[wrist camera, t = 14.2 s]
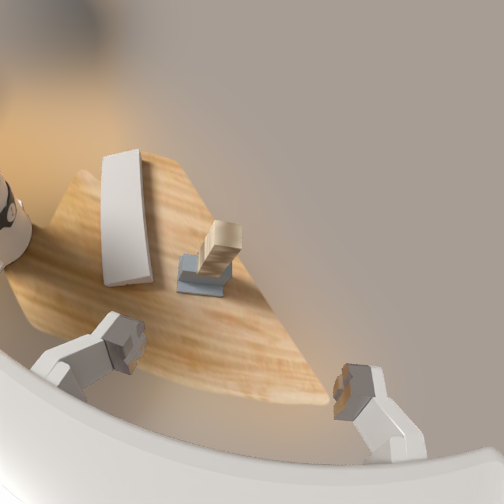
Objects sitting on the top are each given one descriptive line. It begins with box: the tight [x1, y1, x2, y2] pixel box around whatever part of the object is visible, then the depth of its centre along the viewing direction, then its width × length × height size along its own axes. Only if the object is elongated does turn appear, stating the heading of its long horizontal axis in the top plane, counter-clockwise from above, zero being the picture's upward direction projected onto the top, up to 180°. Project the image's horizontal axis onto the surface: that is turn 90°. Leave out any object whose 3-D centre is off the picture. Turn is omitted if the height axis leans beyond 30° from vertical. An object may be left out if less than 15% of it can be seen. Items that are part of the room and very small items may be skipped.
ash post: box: [196, 220, 242, 277], centre depth 51 cm, size 4×4×13 cm
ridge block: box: [177, 254, 232, 297], centre depth 59 cm, size 10×8×7 cm
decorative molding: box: [101, 149, 154, 287], centre depth 60 cm, size 34×5×10 cm
